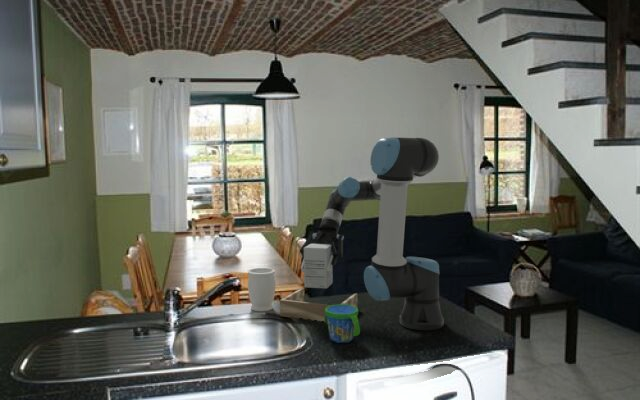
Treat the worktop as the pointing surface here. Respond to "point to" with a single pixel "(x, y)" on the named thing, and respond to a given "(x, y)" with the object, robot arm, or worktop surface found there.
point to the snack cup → (342, 322)
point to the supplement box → (317, 266)
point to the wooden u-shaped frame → (307, 306)
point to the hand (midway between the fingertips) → (315, 271)
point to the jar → (261, 288)
